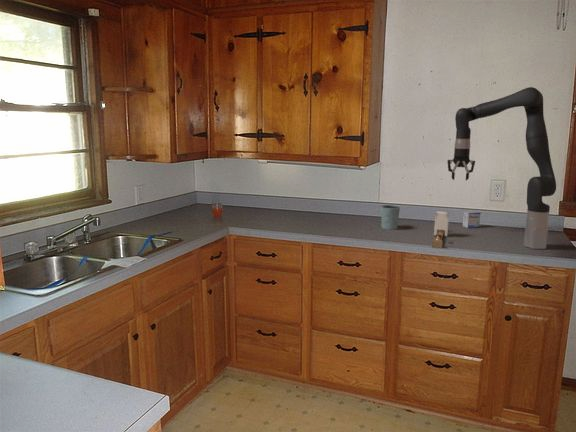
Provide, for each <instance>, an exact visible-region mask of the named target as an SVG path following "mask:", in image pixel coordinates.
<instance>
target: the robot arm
mask: <svg viewBox="0 0 576 432" xmlns="http://www.w3.org/2000/svg"><path fill="white" fill-rule="evenodd" d="M516 107H518V108H519V107H524V111H525V117H526V129H525V144H526V150H527V153H528V154H529V156H530V157H531V159H532V160H533V162H534V163H535V164H536V166H537V169H538V172H539V176H533V177H531V178H530V179H529V180H528V182H527V188H526V205H527V209H526V212H527V213H526V220H525V221H526V222H525V230H524V240H523V246H524V247H526V248H529V249H534V250H535V249H537V250H540V249H541V250H544V249H547V241H548V232H549V229H548V227H549V218H550V208H551V207H550V205H549V204H547V203H544V202H543V197H551V196H553V195H555V193H556V191H557V180H556V178H555V177H556V176H555V173H554V169H553V164H552V160H551V153H550V146H549V136H548V132H547V127H546V126H547V125H546V121H545V116H544V95H543V93H542V92H541V91H539V89H537V88H536V87H533V86H532V87H525V88H523V89H521V90H518V91H516V92H514V93H512V94H509V95H507V96H506V95H505V96H503V97H501V98H498V99H494V100H490V101H485V102H482V103H479V104H476V105H475V106H471V107H462V108H459V109H458V110H457V111H456V112H455V117H454V118H455V127H456V129H455V130H456V132H455V142H454V149H453V150H454V152H453V158H452V159H447V169H448V172H450V173H451V179H452V180H453V181H455V178H456V177H455V176H456V172H455V171H456V169H457V168H464V169H465V172H466V173H465V181H468V180H469V179H470V173H473V172H474V168H475V164H476V161H475V160H471V159H470V152H471V134H472V133H471V132H472V130H471V128H470V122H472V121H476V120H478V119H483V118H487V117H491V116H495V115H498V114H499V113H502V112H505V111H507V110H508V109H513V108H516ZM452 163H454V167H453V169H452V167H451V165H452ZM469 163H470V165H471V167H470V169H469V168H468V164H469Z"/></svg>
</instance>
